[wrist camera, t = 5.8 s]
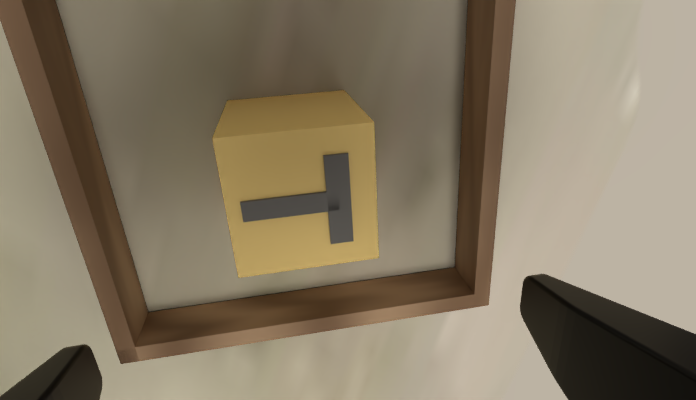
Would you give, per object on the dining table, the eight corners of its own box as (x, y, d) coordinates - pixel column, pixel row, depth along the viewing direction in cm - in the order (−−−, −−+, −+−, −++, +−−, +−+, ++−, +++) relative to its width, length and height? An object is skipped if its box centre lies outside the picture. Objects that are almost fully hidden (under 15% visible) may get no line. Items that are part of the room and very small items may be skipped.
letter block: (245, 207, 21) (238, 279, 15) (227, 100, 19) (211, 139, 13) (350, 194, 22) (379, 259, 16) (343, 89, 19) (375, 123, 14)
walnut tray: (135, 327, 22) (120, 363, 20) (15, -50, 16) (-28, -59, 13) (468, 277, 25) (488, 305, 22) (490, -70, 18) (522, -81, 16)
